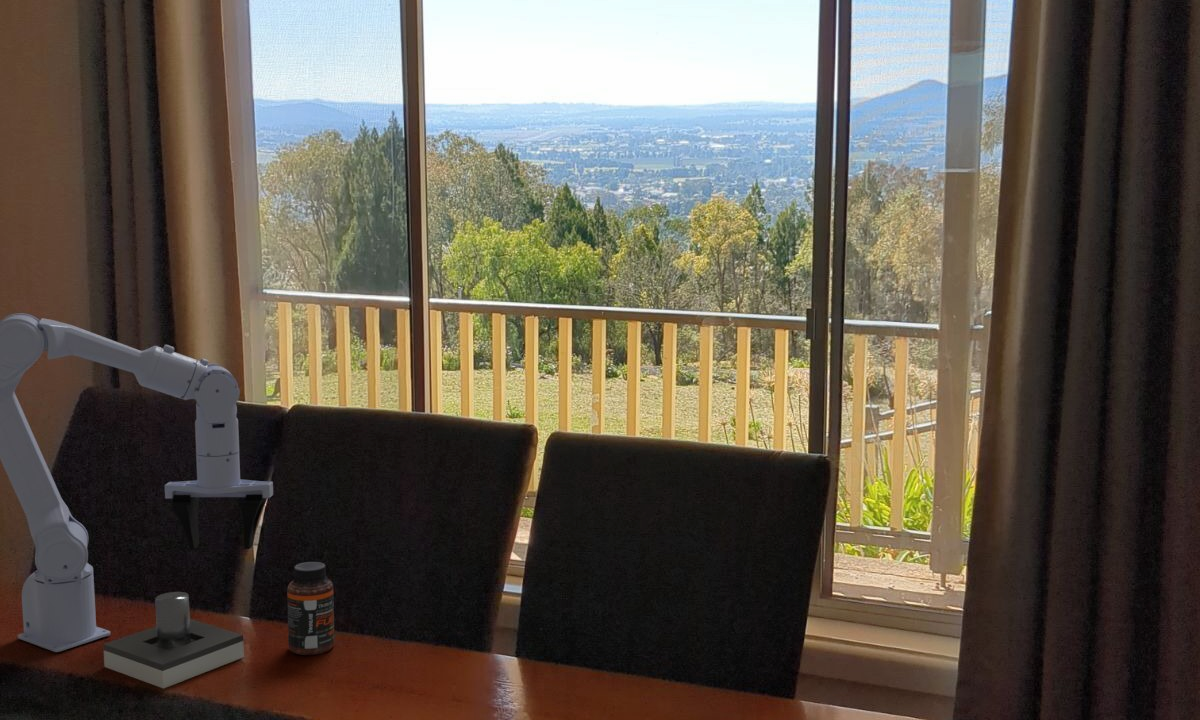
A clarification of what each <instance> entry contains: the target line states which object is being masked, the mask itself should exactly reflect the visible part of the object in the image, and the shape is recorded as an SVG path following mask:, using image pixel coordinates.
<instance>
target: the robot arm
mask: <svg viewBox="0 0 1200 720" xmlns="http://www.w3.org/2000/svg"><path fill="white" fill-rule="evenodd" d="M43 352H47V360H54V359H57V358H58V359H59V358H63V357H68V356H75V357H79V358H81V359H84V360H85V359H86V360H89V361H92V362H96V363H99V364H102V365H106V366H109V367H113V368H114V369H115V368H116V369H119V370H123V371H126V372H129V373H133V375H134V376H135V378H136V381H137V383H138V384H139V386H141V387H144V388H147V389H151V390H153V391H156V392H160V393H162V394H166V395H169V396H172V397H174V398H178V399H181V400H184V401H188V400H195V401H196V403H195V409H196V411H195V412H196V419H195V421H194V428H195V429H194V432H195V433H194V434H195V456H196V480H184V481H169V482H167V483H166V484H164V499H172V502H171V503H170V508H171V510H172V512H173V513H174V515H175V516H176V517H177V519H178V521H179V523H180V525H181V527H182V529H183V531H184V532H183V533H184V535H185V537H186V540H187V544H188V548H189V550H195V549H196V548H198V546H200V530H199V508H200V507H199V504H200V498H245V499H243V500H242V501H241V502H240V509H241V514H242V515H241V516H242V521H243V523H242V524H243V547H244V549H245V550H250V549H251V548H252V547H253V546H254V541H255V535H256V529H257V527H258V522H259V519H260V516H261V514H262V511H263V510H264V507H265V505H266V502H267V499H270V498H271V497H272V496H274V482H273V481H260V480H252V479H251V480H250V479H241V466H240V465H241V464H240V439H239V438H240V435H239V433H240V432H239V419H238V417H237V414H238V408H237V402H238V401H239V398H240V395H241V389H240V388H239V383H238V381H237V379H236V378H235V377H234V376H233V374H232V373H231V372H230V371H229V370H228V369H226V368H225V367H223V366H220V364H219V363H210V361H209V359H205V358H203V357H201V359H200V360H199V359H195V358H192V357H191V356H186V355H184V354H181V353H178V352H175V347H174V346H171V345H169V344H164V346H163V347H160V346H158V345H153V346H151V347H148V348H146V349H144V350H139V349H137V348H134V347H132V346H129V345H126V344H124V343H121V342H118V341H115V340H113V339H110V338H107V337H104V336H102V335H99V334H97V333H94V332H92V331H88V330H86V329H83V328H80V327H78V326H75V325H73V324H69V323H65V322H61V321H58V320H53V319H49V318H43V317H42V318H41V319H39V318H37V317H35V316H34V315H31V314H29V313H20V312H18V313H13V314H9V315H7V316H5V317H4V318H2V319H1V320H0V463H1V464H2V466H3V468H4V471H5V473H6V475H7V477H8V480H9V482H10V484H11V486H12V488H13V491H14V492H15V493H14V494H16V497H17V499H18V501H19V503H20V506H21V508H22V510H23V512H24V515H25V517H26V520H27V524H28V527H29V531H30V532H29V533H30V536H31V538H32V541H33V543H34V546H35V554H34V564H35V567H36V570H35V571H34V572H33V573H31V574H30V575H29V576H28V577H27V578H26V580H25V581H24V583H23V586H22V589H21V606H22V607H21V608H22V620H23V622H22V623H23V632H22V633H18V634H17V638H18V639H19V640H22V641H24V642H26V643H27V642H28V643H29V644H32V645H35V646H38V647H40V648H43V649H46V650H49V651H51V652H54V653H59V652H63V651H66V650H68V649H72V648H74V647H78V646H82V645H83V644H87V643H90V642H93V641H96V640H98V639H101V638H105V637H108V636H110V635H111V631H110V630H108V629H105V628H102V627H98V626H97V619H96V617H97V616H96V615H97V614H96V601H95V600H96V598H95V582H94V581H95V579H94V566H93V565H91V564H89V562H88V561H89V559H88V558H89V551H88V546H89V542H90V541H89V538H90V537H89V532H88V530H87V529H86V527H85V526H84V525H83V524H82V523H81V522H79V521H78V520H77V519H76V518H74V517H73V515H72V513H71V511H70V509H69V507H68V506H67V504H66V503H65V501H64V500H63V498H62V496H61V494H60V492H59V489H58V487H57V485H56V482H55V481H54V477H53V476H52V474H51V471H50V469H49V467H48V465H47V462H46V460H45V459H44V456H43V453H42V451H41V449H40V447H39V445H38V444H39V443H38V442H37V439H36V437H35V436H34V435H35V434H34V433H33V431H32V428H31V427H30V424H29V421H28V419H27V418H26V415H25V413H24V410H23V408H22V406H21V404H20V402H19V399H18V398H17V397H18V396H17V395H16V393H15V391H16V389H17V387H18V385H19V383H20V381H21V379H22V378H23V375H24V373H25V372H26V371H28V370H29V369H30V368H31V367H32V366H33V365H34V364H35V363H36V362H37V361H38V360H39V359H40V358H41V356H42V354H43Z"/></svg>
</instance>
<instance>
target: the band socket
mask: <svg viewBox="0 0 1200 720" xmlns="http://www.w3.org/2000/svg"><path fill="white" fill-rule="evenodd" d="M190 634H191V643H188V644H186V645H183V646H180V647H177V648H174V649H172V650H166V649H163V648H160V647H158V644H157V625H155V626H153V627H150V628H147V629H145V630H141V631H138V632H135V633H133V634H129V635H127V636H124V637H123V636H122V637H121V638H118V639H115V640H112V641H109V642H105V643H103V645H102V646H103V663H104V668H106V669H109V670H112V671H114V672H117V673H121V674H123V675H126V676H128V677H131V678H134V679H137V680H139V681H141V682H145V683H147V684H150V685H153V686H155V687H158V688H160V689H166V688H169V687H171V686H174V685H177V684H179V683H182V682H184V681H186V680H189V679H192V678H193V677H196V676H199V675H202V674H204V673H206V672H210V671H212V670H214V669H218V668H219V667H222V666H224V665H225V666H226V665H227V664H230V663H233V662H235V661H238V660H241V659H242V658H243V659H244V657H245V653H244V652H245V651H244V650H245V649H244V648H245V647H244V634H241V633H238V632H235V631H231V630H228V629H226V628H222V627H220V626H219V627H218V626H214V625H212V624H209V623H206V622H204V621H203V622H202V621H200V620H196V619H193V618H190Z"/></svg>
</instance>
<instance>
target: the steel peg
mask: <svg viewBox="0 0 1200 720" xmlns="http://www.w3.org/2000/svg"><path fill="white" fill-rule="evenodd" d="M154 600H155V604H154V605H155V620H156V621H155V622H156V626H157V644H158V647H160V648H163V649H166V650H172V649H174V648H177V647H180V646H183V645H186V644H188V643H191V634H190V619H191V617H190V615H191V613H190V597H189V594H188V593H187V592H185V591H184V592H183V591H170V592H165V593H162V594H159V595H157V596H156V597H155V598H154Z"/></svg>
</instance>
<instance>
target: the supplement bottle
mask: <svg viewBox="0 0 1200 720" xmlns="http://www.w3.org/2000/svg"><path fill="white" fill-rule="evenodd" d="M293 571H294V572H293V576H294V578H293V580H292V581H291V582H289V583H288V586H287V587H286V588H287V589H286V590H287V596H286V597H287V600H286V601H287V632H288V633H287V635H288V637H287V639H288V649H289V651H290V652H292V653H293V654H295V655H301V656H315V655H320V654H325V653H326V652H328V651H330V650H331V649H332V648H333V647H334V646H335V613H334V612H335V610H334V605H335V604H334V597H335V596H334V594H335V593H334V584H333V582H332V580H331V579H329V577H327V575H326V574H327V573H326V572H327V570H326V565H325V563H323V562H320V561H318V562H317V561H307V562H302V563H301V562H300V563H297V564H296V565H294V567H293Z"/></svg>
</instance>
